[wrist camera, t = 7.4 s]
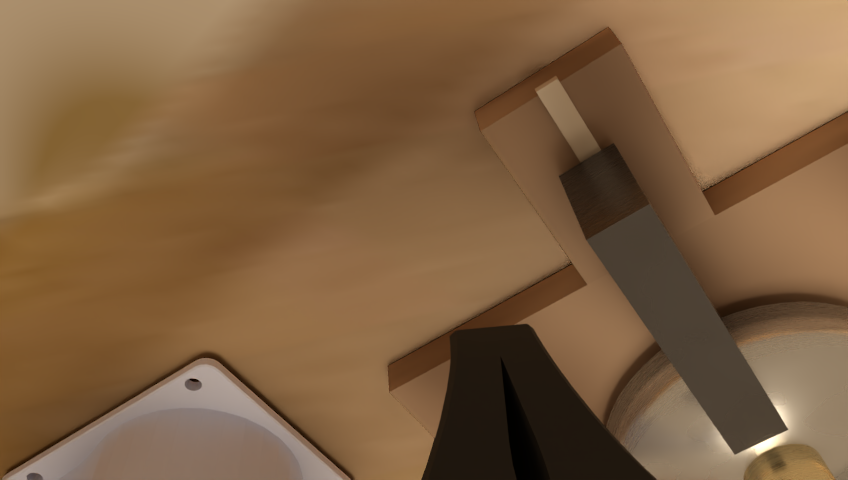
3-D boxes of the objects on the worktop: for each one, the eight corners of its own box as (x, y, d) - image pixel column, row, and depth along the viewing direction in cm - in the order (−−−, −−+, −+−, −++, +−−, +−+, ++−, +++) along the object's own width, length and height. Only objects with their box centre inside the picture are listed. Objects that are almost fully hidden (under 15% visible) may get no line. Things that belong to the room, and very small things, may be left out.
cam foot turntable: (945, 440, 28) (1026, 541, 24) (679, 556, 30) (719, 662, 27) (770, 48, 19) (856, 120, 16) (423, 256, 22) (435, 355, 18)
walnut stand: (605, 592, 34) (614, 624, 33) (263, 236, 23) (259, 264, 22) (1044, 404, 29) (1073, 433, 28) (876, -152, 19) (911, -142, 17)
